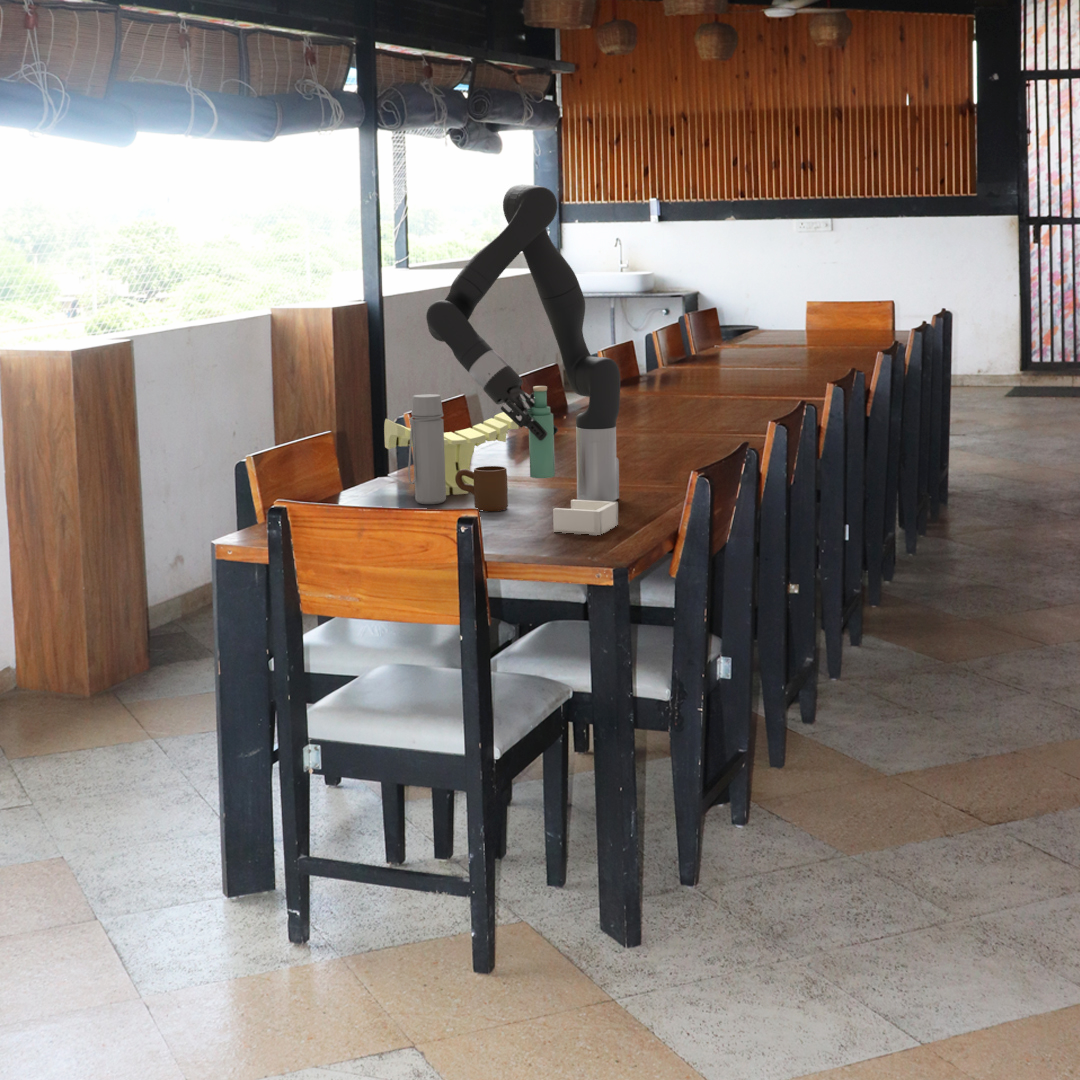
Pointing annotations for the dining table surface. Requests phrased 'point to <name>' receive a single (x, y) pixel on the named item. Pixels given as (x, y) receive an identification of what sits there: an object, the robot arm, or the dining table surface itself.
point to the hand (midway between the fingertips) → (549, 435)
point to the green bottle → (544, 449)
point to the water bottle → (427, 449)
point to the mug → (486, 487)
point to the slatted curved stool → (456, 445)
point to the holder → (586, 517)
